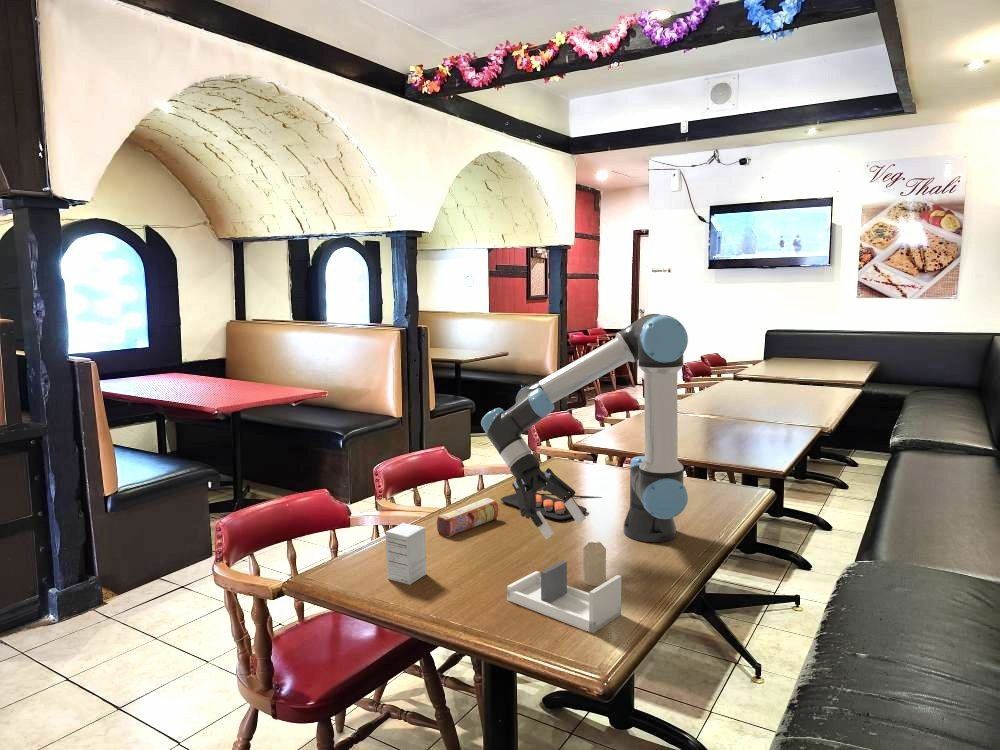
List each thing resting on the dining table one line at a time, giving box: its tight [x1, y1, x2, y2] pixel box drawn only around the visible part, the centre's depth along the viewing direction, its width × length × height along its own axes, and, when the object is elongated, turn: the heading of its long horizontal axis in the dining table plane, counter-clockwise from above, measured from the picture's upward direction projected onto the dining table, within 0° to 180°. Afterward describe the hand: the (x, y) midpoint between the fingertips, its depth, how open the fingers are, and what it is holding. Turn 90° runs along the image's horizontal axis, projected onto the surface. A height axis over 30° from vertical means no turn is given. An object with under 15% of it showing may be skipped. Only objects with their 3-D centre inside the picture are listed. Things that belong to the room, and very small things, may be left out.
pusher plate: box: [540, 560, 568, 603], centre depth 156 cm, size 8×1×8 cm, turn 138°
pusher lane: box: [506, 570, 622, 634], centre depth 155 cm, size 11×24×9 cm, turn 48°
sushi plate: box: [500, 492, 603, 521], centre depth 230 cm, size 29×30×4 cm
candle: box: [582, 541, 607, 587], centre depth 168 cm, size 6×6×10 cm
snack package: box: [436, 497, 499, 538], centre depth 208 cm, size 21×7×7 cm, turn 137°
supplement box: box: [385, 522, 428, 585], centre depth 172 cm, size 7×7×13 cm
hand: (566, 528), depth 172 cm, fingers open, 13 cm apart
